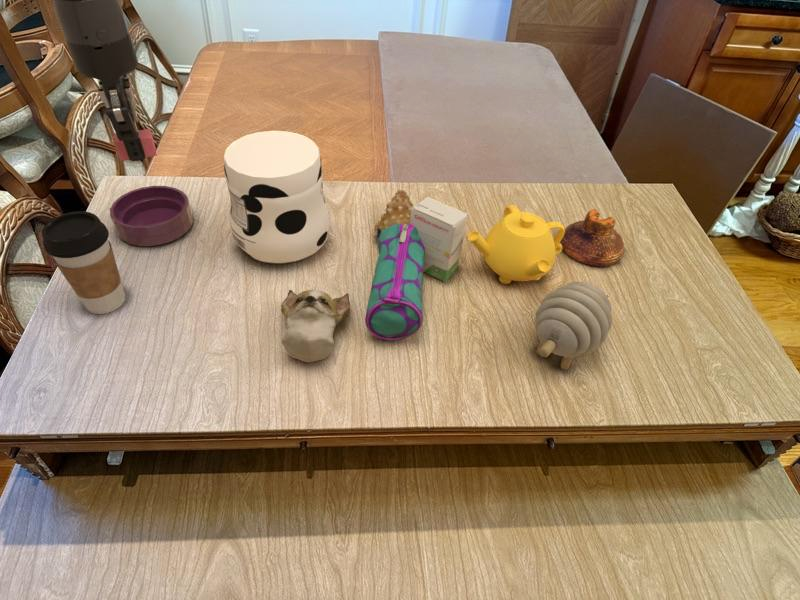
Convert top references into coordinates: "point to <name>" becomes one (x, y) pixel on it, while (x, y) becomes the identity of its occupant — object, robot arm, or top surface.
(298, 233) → the milk container
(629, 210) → the top surface
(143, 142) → the eraser
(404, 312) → the pencil case
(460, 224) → the ink box
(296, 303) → the ceramic sculpture
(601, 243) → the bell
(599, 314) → the toy sheep
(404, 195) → the seashell
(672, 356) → the top surface
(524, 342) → the top surface
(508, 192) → the top surface
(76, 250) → the coffee cup
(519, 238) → the teapot
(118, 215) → the bowl
